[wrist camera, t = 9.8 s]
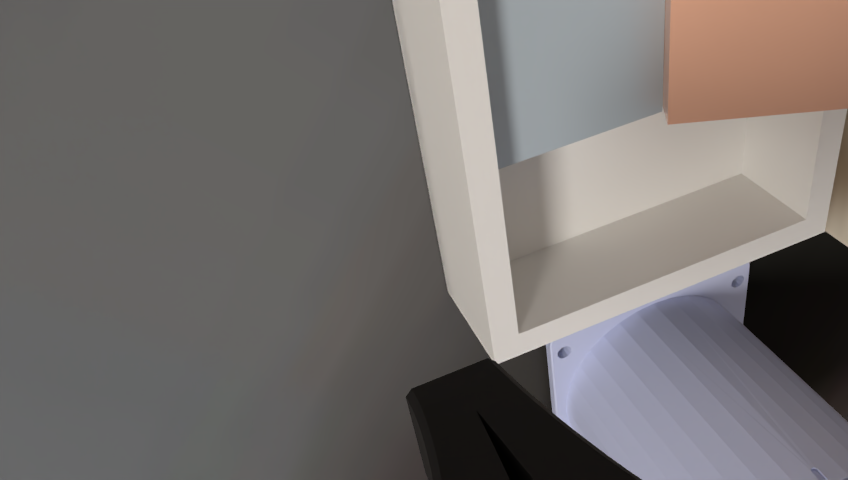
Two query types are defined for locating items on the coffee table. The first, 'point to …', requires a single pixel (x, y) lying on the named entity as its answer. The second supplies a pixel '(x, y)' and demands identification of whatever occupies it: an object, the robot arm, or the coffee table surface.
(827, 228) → the ash board
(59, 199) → the coffee table surface
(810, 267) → the coffee table surface
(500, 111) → the slate tile
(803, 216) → the box
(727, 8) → the terracotta tile
